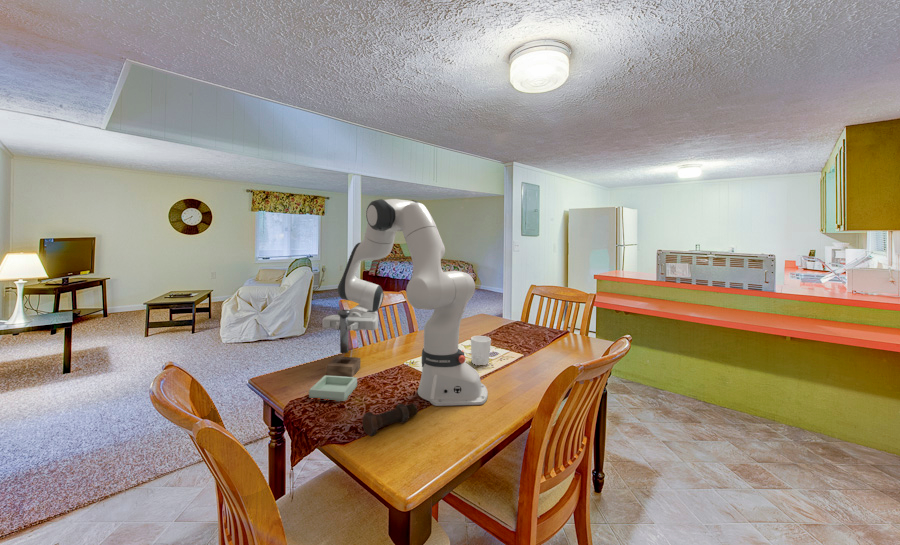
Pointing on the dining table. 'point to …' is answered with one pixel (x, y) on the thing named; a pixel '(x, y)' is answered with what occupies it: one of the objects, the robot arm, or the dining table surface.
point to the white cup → (480, 350)
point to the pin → (343, 330)
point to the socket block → (343, 366)
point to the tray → (333, 388)
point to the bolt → (387, 418)
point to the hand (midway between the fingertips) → (343, 328)
